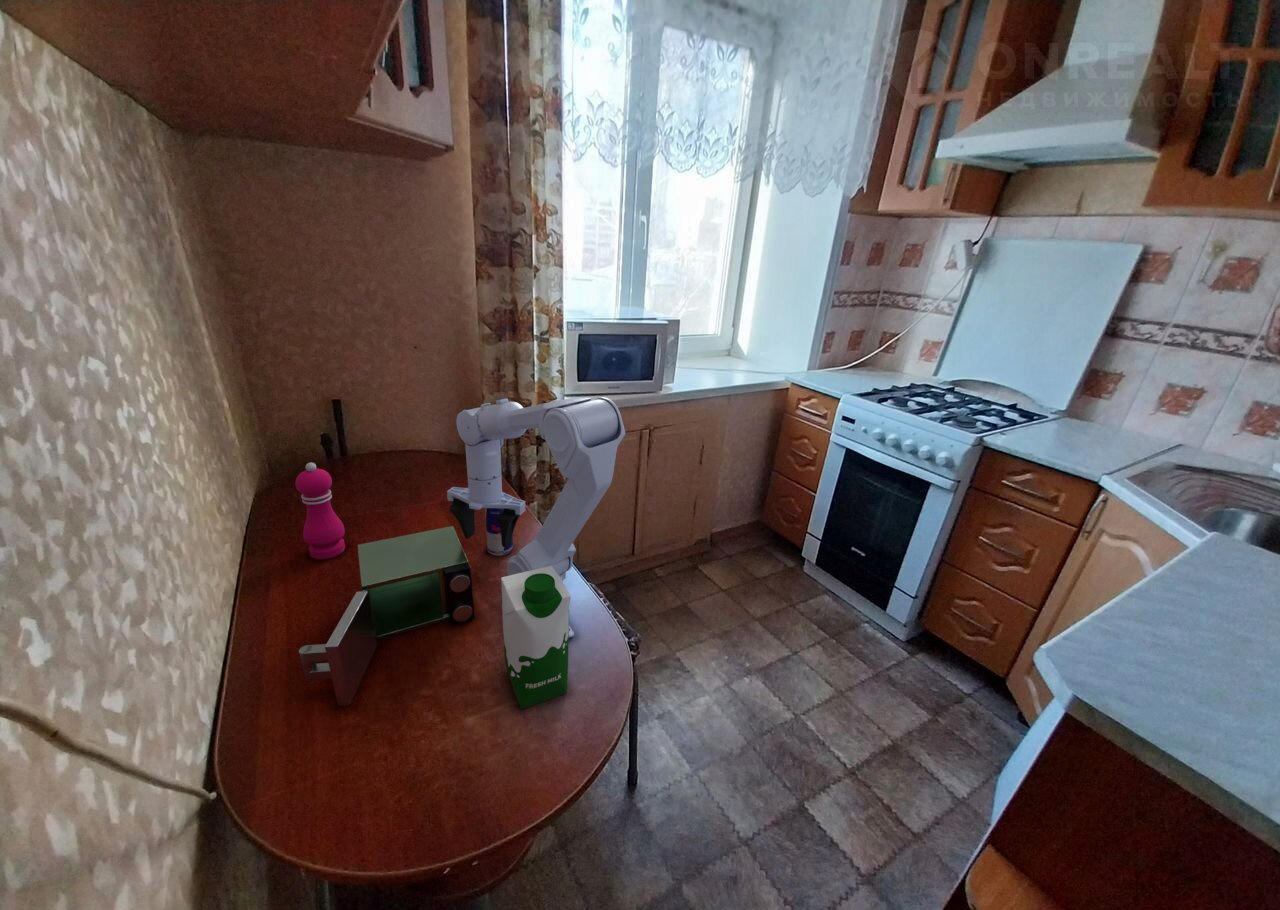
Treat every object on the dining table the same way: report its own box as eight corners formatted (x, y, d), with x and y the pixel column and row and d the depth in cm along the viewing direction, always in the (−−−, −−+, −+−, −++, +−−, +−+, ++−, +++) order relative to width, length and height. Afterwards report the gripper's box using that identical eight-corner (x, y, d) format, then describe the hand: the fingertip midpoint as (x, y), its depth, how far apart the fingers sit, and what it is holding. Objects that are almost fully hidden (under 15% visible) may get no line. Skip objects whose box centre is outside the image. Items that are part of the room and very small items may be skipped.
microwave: (475, 621, 87) (471, 568, 83) (372, 651, 79) (362, 595, 75) (457, 573, 99) (452, 525, 95) (366, 596, 91) (357, 544, 87)
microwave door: (300, 709, 68) (284, 649, 64) (334, 648, 79) (322, 592, 75) (350, 705, 69) (337, 646, 65) (377, 645, 80) (367, 590, 76)
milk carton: (516, 717, 70) (511, 601, 62) (500, 671, 77) (494, 562, 69) (575, 695, 74) (577, 584, 66) (554, 654, 81) (554, 549, 73)
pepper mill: (331, 538, 107) (314, 453, 100) (356, 547, 105) (340, 460, 98) (299, 555, 101) (278, 465, 94) (324, 564, 99) (305, 473, 91)
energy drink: (498, 559, 104) (495, 509, 100) (482, 550, 107) (479, 500, 103) (518, 549, 108) (516, 500, 104) (502, 540, 111) (500, 492, 107)
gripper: (433, 475, 85) (440, 543, 90) (510, 490, 82) (513, 559, 87) (458, 460, 91) (462, 524, 96) (530, 473, 88) (531, 539, 93)
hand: (488, 540), depth 92 cm, fingers open, 7 cm apart
